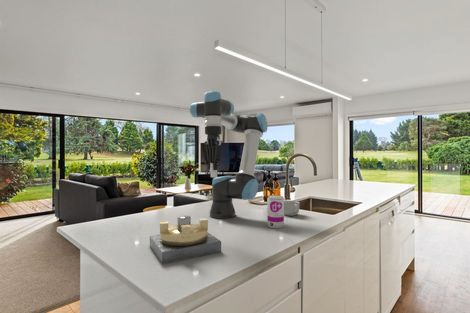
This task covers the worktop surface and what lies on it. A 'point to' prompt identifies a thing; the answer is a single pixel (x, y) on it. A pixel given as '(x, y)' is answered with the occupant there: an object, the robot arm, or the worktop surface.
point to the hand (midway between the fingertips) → (213, 177)
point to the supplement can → (275, 211)
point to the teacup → (291, 208)
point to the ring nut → (184, 232)
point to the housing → (184, 249)
